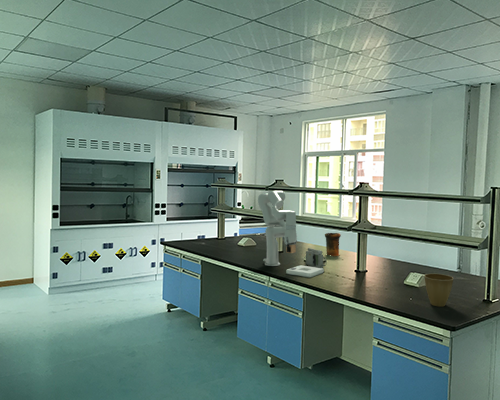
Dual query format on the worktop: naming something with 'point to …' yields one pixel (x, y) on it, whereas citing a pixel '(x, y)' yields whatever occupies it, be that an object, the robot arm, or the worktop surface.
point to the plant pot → (438, 288)
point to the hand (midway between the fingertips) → (290, 251)
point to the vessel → (332, 243)
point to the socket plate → (305, 271)
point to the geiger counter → (314, 258)
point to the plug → (292, 248)
